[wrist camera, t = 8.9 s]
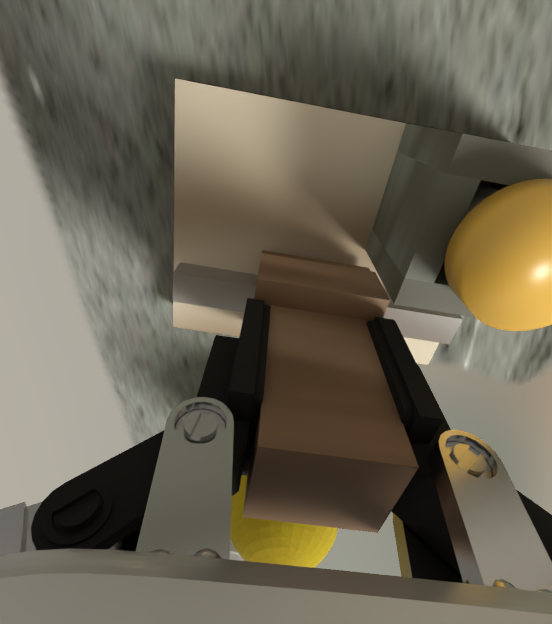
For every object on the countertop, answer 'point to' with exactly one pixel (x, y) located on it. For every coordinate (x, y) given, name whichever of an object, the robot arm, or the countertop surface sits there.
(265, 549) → the lemon
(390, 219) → the rail base
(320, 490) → the block
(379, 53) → the countertop surface
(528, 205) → the button
